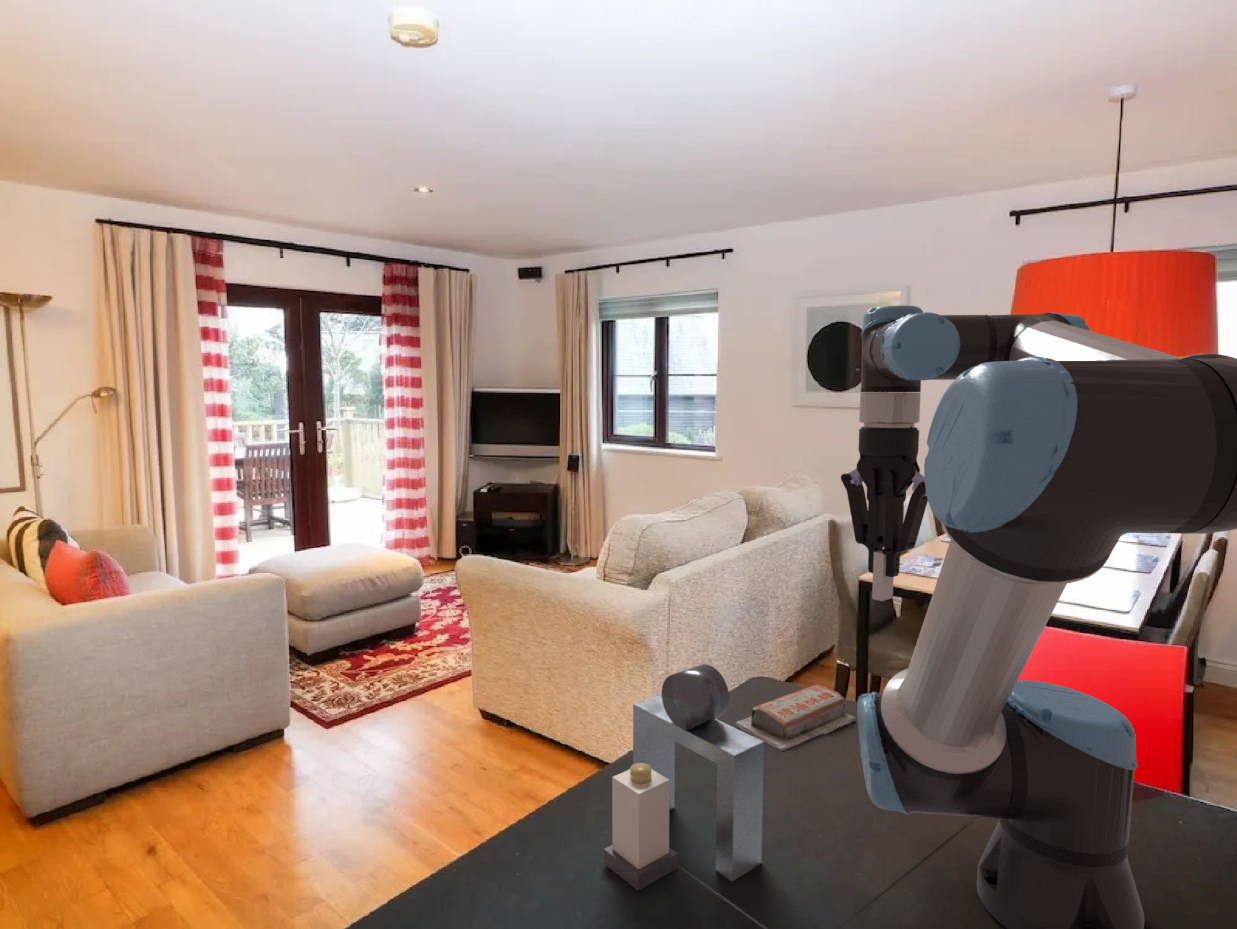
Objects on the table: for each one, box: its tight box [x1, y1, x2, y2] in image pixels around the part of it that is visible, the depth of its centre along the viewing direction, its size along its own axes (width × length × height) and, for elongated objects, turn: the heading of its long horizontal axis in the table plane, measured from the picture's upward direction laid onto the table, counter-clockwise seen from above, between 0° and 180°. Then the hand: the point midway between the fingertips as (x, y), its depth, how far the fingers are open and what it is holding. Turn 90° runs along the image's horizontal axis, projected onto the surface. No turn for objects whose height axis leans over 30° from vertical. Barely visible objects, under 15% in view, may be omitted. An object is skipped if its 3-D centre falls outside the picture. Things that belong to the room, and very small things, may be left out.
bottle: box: [603, 763, 679, 891], centre depth 84 cm, size 6×6×12 cm
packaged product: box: [735, 684, 857, 751], centre depth 120 cm, size 18×5×10 cm
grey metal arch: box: [632, 663, 765, 882], centre depth 89 cm, size 17×5×21 cm, turn 39°
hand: (882, 598), depth 100 cm, fingers closed
